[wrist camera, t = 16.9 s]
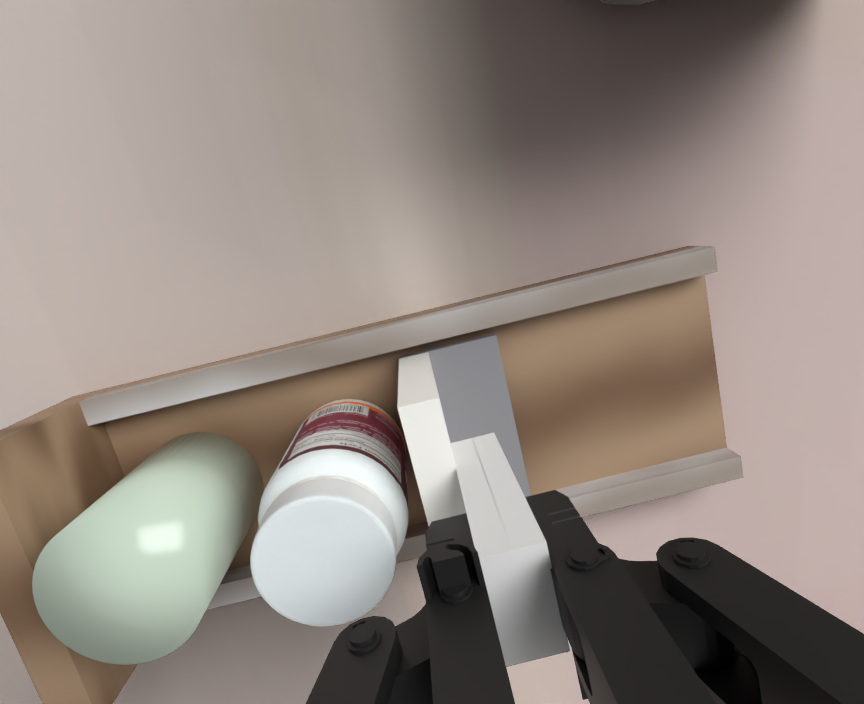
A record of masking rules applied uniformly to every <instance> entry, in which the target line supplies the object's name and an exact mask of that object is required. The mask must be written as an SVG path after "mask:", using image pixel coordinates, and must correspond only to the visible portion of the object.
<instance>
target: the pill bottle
mask: <svg viewBox="0 0 864 704" xmlns="http://www.w3.org/2000/svg"><path fill="white" fill-rule="evenodd" d="M408 521H409V512H408V493H407V466H406V446H405V441H404V437H403V435H402V432H401V430H400V428H399V427H398V425H397V423H396V422H395V421H394V419H393V418H392V417H391V416H390V415H389V414H388V413H386V412H385V411H384V410H383V409H381V408H379V407H378V406H376V405H374V404H372V403H369V402H366V401H362V400H355V399H342V400H336V401H332V402H330V403H327V404H325V405H323V406H321V407H319V408H318V409H316V410H315V411H314V412H312V413H311V414H310V415H309V416H308V417H307V418H306V419H305V420H304V422H303V423H302V424H301V426H300V428H299V429H298V431H297V433H296V434H295V437H294V439H293V440H292V442H291V444H290V445H289V447H288V449H287V451H286V452H285V454H284V456H283V458H282V460H281V462H280V463H279V465H278V467H277V469H276V470H275V472H274V474H273V475H272V477H271V479H270V481H269V482H268V484H267V486H266V488H265V490H264V492H263V495H262V498H261V502H260V506H259V513H258V525H259V528H258V531H257V533H256V535H255V538H254V541H253V544H252V549H251V555H250V566H251V573H252V577H253V581H254V583H255V586H256V588H257V590H258V591H259V593H260V595H261V596H262V598H263V599H264V600H265V601H266V602H267V603H268V604H269V605H270V606H271V607H272V608H273V609H274V610H275V611H276V612H278V613H280V614H281V615H283V616H284V617H286V618H288V619H290V620H292V621H295V622H298V623H301V624H305V625H310V626H318V627H327V626H337V625H341V624H345V623H348V622H351V621H354V620H356V619H358V618H360V617H362V616H363V615H365V614H366V613H368V612H369V611H370V610H372V609H373V608H374V607H375V606H376V605H377V604H378V603H379V602H380V601H381V600H382V598H383V597H384V596H385V594H386V593H387V591H388V589H389V587H390V585H391V583H392V580H393V577H394V573H395V568H396V556H397V554H398V553H399V551H400V549H401V547H402V545H403V542H404V540H405V536H406V533H407V528H408Z"/></svg>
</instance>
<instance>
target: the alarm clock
mask: <svg viewBox="0 0 864 704" xmlns="http://www.w3.org/2000/svg"><path fill="white" fill-rule="evenodd" d="M599 1H600V2H602V3H603V4H617V5H639V4H643V3H648V2H652V1H657V0H599Z"/></svg>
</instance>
